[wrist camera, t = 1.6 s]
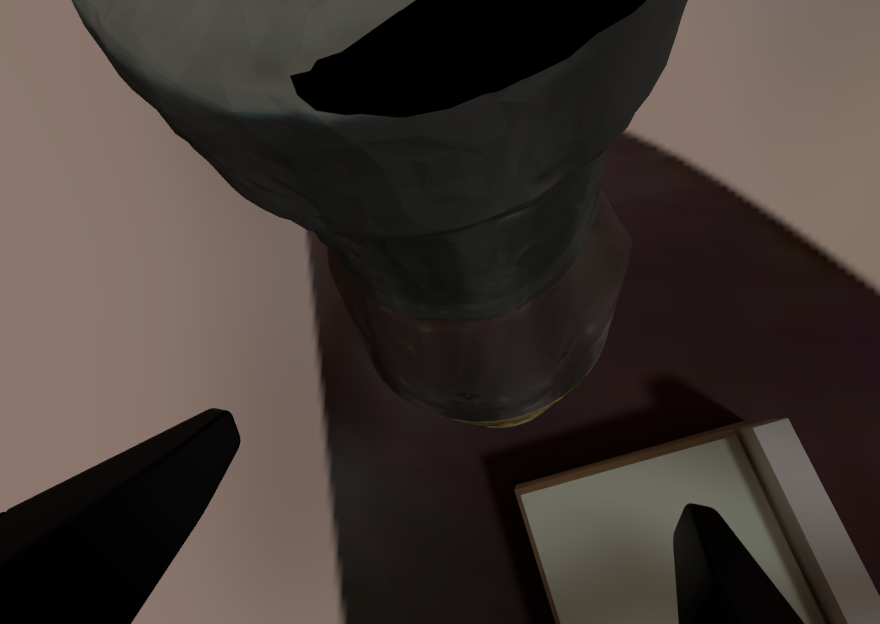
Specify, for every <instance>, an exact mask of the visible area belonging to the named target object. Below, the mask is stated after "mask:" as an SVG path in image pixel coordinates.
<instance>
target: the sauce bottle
mask: <svg viewBox="0 0 880 624" xmlns="http://www.w3.org/2000/svg"><path fill="white" fill-rule="evenodd" d="M687 1H688V0H72V2H73V4H74V6H75V8H76V10H77V12H78V14H79V16H80V18H81V20H82V22H83V24H84V26H85V27H86V29H87V30H88V31H89V33H90V34H91V36H92V37H93V38H94V40H95V41H96V42H97V44H98V45H99V46H100V48H101V49H102V51H103V52H104V53H105V55H106V56H107V58H108V59H109V61H110V62H111V64H112V65H113V67H114V68H115V70H116V71H117V73H118V74H119V76H120V77H121V78H122V79H123V80H124V81H125V82H126V83H127V84H128V85H129V86H130V88H131V89H132V90H133V91H135V92H136V93H137V94H138V95H140V96H141V97H142V98H143V99H144V100H145V101H147V102H148V103H149V104H150V105H152V106H153V107H154V108H155V109H156V110H157V111H158V112H159V113H160V115H161V116H162V117H163V118H164V120H165V121H166V122H167V123H168V125H169V126H170V127H171V129H172V130H173V131H174V133H175V134H177V135H178V136H180V137H181V138H183V139H184V140H186V141H187V142H188V143H189V144H190V145H191V146H192V147H193V148H194V149H195V150H196V151H197V152H198V153H199V154H200V155H202V156H203V157H204V158H205V159H206V160H207V161H208V162H209V163H210V164H211V165H212V166H213V167H214V168H215V169H216V170H217V171H218V173H219V174H220V175H221V176H222V177H223V178H224V179H225V180H226V181H227V182H228V183H229V184H230V185H231V187H233V188H234V189H235V190H236V191H237V192H238V193H239V194H241V195H242V196H243V197H244V198H246V199H247V200H249V201H250V202H252V203H254V204H255V205H257V206H259V207H260V208H262V209H264V210H266V211H268V212H270V213H272V214H274V215H276V216H278V217H281V218H285V219H288V220H292V221H293V222H295V223H296V224H298V225H300V226H301V227H303V228H305V229H307V230H311V231H314V232H315V233H316V235H317V236H318V238H319V240H320V241H321V242H322V243H324V244H325V245H326V246H327V247H329V248H328V252H327V255H328V262H329V268H330V272H331V275H332V277H333V279H334V281H335V283H336V285H337V288H338V290H339V292H340V294H341V296H342V298H343V301H344V303H345V305H346V307H347V309H348V312H349V314H350V316H351V318H352V320H353V322H354V325H355V327H356V329H357V331H358V333H359V335H360V338H361V340H362V342H363V344H364V346H365V348H366V350H367V353H368V355H369V357H370V359H371V361H372V363H373V366H374V368H375V369H376V371H377V372H378V374H379V375H380V377H381V379H382V380H383V381H384V382H385V383H386V384H387V385H388V386H389V387H390V388H391V389H392V390H393V391H394V392H395V393H396V394H397V395H399V396H400V397H401V398H403V399H404V400H406V401H407V402H408V403H410V404H412V405H414V406H416V407H418V408H420V409H422V410H424V411H426V412H429V413H431V414H433V415H437V416H441V417H444V418H448V419H451V420H456V421H460V422H463V423H465V424H473V425H478V426H483V427H490V428H505V427H512V426H517V425H520V424H523V423H525V422H528V421H530V420H532V419H534V418H535V417H537V416H538V415H540V414H541V413H543V412H544V411H545V410H547V409H548V408H549V407H551V406H553V405H554V404H555V403H556V402H557V401H558V400H560V399H561V398H563V397H564V396H565V395H566V394H567V393H568V392H570V391H571V390H572V389H573V388H574V387H575V386H576V385H577V384H578V383H579V382H581V381H582V380H583V378H584V377H585V376H586V375H587V374H588V373H589V371H590V370H591V368H592V367H593V365H594V364H595V362H596V361H597V359H598V358H599V356H600V353H601V351H602V348H603V346H604V343H605V341H606V337H607V334H608V331H609V327H610V324H611V320H612V317H613V314H614V310H615V307H616V303H617V300H618V297H619V293H620V290H621V287H622V283H623V280H624V276H625V273H626V270H627V266H628V263H629V259H630V255H631V251H632V240H631V238H630V236H629V234H628V233H627V231H626V229H625V228H624V226H623V225H622V223H621V222H620V220H619V218H618V217H617V215H616V214H615V212H614V210H613V209H612V207H611V205H610V204H609V202H608V200H607V199H606V197H605V195H604V194H603V192H602V191H601V189H600V175H601V170H602V166H603V164H604V161H605V158H606V154H607V151H608V149H609V146H610V145H611V144H612V143H613V142H614V141H615V140H616V139H617V138H618V137H619V135H620V134H621V133H622V132H623V131H624V130H625V129H626V128H627V127H628V125H629V124H630V122H631V120H632V118H633V116H634V114H635V112H636V111H637V110H638V108H639V107H640V106H641V105H642V103H643V102H644V101H645V100H646V98H647V97H648V96H649V94H650V93H651V91H652V89H653V87H654V86H655V84H656V82H657V80H658V78H659V77H660V75H661V73H662V72H663V70H664V68H665V66H666V64H667V61H668V58H669V55H670V52H671V49H672V46H673V43H674V40H675V37H676V34H677V31H678V27H679V24H680V20H681V17H682V14H683V12H684V8H685V6H686V3H687Z"/></svg>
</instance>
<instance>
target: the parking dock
mask: <svg viewBox="0 0 880 624" xmlns="http://www.w3.org/2000/svg"><path fill="white" fill-rule="evenodd" d="M515 494H516V497H517V500H518V503H519V507H520V510H521V513H522V516H523V520H524V523H525V526H526V529H527V533H528V536H529V539H530V542H531V545H532V549H533V552H534V555H535V558H536V562H537V565H538V568H539V571H540V575H541V578H542V581H543V584H544V588H545V591H546V594H547V597H548V600H549V604H550V607H551V610H552V613H553V617H554V620H555V623H556V624H679V621H678V607H677V594H676V580H675V566H674V552H673V535H674V531H675V528H676V526H677V523H678V521H679V519H680V516H681V514H682V512H683V509H684V507H685V506H686V505H687V504H688V503H693V504H698V505H703V506H708V507H712V508H714V509H715V510H716V511H717V512H718V513H719V514H720V515H721V516H722V518H723V519H724V520H725V522H726V523H727V524H728V525H729V527H730V528H731V529H732V531H733V532H734V533H735V534H736V536H737V537H738V538H739V540H740V541H741V542H742V543H743V545H744V546H745V547H746V549H747V550H748V551H749V552H750V554H751V555H752V556H753V558H754V559H755V560H756V561H757V563H758V564H759V565H760V567H761V568H762V569H763V570H764V572H765V573H766V574H767V576H768V577H769V578H770V579H771V581H772V582H773V583H774V585H775V586H776V587H777V588H778V590H779V591H780V592H781V594H782V595H783V596H784V597H785V599H786V600H787V601H788V603H789V604H790V605H791V606H792V608H793V609H794V610H795V612H796V613H797V614H798V615H799V617H800V618H801V619H802V621H803V622H804V623H805V624H880V596H879V594H878V593H877V591H876V589H875V587H874V585H873V583H872V581H871V579H870V577H869V575H868V573H867V571H866V569H865V567H864V565H863V563H862V561H861V559H860V558H859V556H858V554H857V552H856V550H855V548H854V546H853V544H852V542H851V540H850V538H849V536H848V534H847V532H846V530H845V528H844V526H843V524H842V522H841V521H840V519H839V517H838V515H837V513H836V511H835V509H834V507H833V505H832V503H831V501H830V499H829V497H828V495H827V493H826V491H825V489H824V487H823V486H822V484H821V482H820V480H819V478H818V476H817V474H816V472H815V470H814V468H813V466H812V464H811V462H810V460H809V458H808V456H807V454H806V452H805V451H804V449H803V447H802V445H801V443H800V441H799V439H798V437H797V435H796V433H795V431H794V429H793V427H792V425H791V423H790V421H789V419H788V418H782V419H763V420H745V421H741V422H738V423H734V424H731V425H727V426H723V427H720V428H716V429H713V430H709V431H706V432H702V433H699V434H695V435H691V436H688V437H684V438H681V439H677V440H674V441H670V442H667V443H663V444H660V445H656V446H652V447H649V448H645V449H642V450H638V451H635V452H631V453H628V454H624V455H621V456H617V457H613V458H610V459H606V460H603V461H599V462H596V463H592V464H589V465H585V466H581V467H578V468H574V469H571V470H567V471H564V472H560V473H557V474H553V475H550V476H546V477H542V478H539V479H535V480H532V481H528V482H525V483H521V484H518V485H516V486H515Z"/></svg>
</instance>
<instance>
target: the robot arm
mask: <svg viewBox="0 0 880 624" xmlns="http://www.w3.org/2000/svg"><path fill="white" fill-rule="evenodd" d="M239 445H240V435H239V432H238V429H237V427H236V424H235V421H234V418H233V416H232V414H231V413H230V412H229V411H226V410H221V409H215V408H212V409H209V410H206V411H204V412H202V413H200V414H198V415H196V416H194V417H192V418H190V419H188V420H186V421H184V422H182V423H180V424H178V425H176V426H174V427H172V428H170V429H168V430H166V431H164V432H162V433H160V434H158V435H157V436H154V437H152V438H150V439H148V440H146V441H144V442H142V443H140V444H138V445H136V446H134V447H132V448H130V449H128V450H126V451H124V452H122V453H120V454H118V455H116V456H114V457H112V458H110V459H108V460H106V461H104V462H102V463H100V464H98V465H96V466H94V467H92V468H90V469H88V470H86V471H84V472H82V473H80V474H78V475H76V476H74V477H72V478H70V479H68V480H66V481H64V482H62V483H60V484H58V485H56V486H54V487H52V488H50V489H48V490H46V491H44V492H42V493H40V494H38V495H36V496H34V497H32V498H30V499H28V500H26V501H24V502H22V503H20V504H18V505H16V506H14V507H12V508H10V509H8V510H7V511H6V512H2V513H0V624H131V623H132V621H133V620H134V618H135V617H136V615H137V614H138V612H139V611H140V609H141V608H142V606H143V604H144V603H145V601H146V600H147V599H148V597H149V595H150V594H151V592H152V591H153V589H154V588H155V586H156V585H157V583H158V582H159V580H160V579H161V577H162V576H163V574H164V573H165V571H166V570H167V568H168V566H169V565H170V563H171V562H172V560H173V559H174V558H175V556H176V554H177V553H178V552H179V550H180V548H181V547H182V545H183V544H184V542H185V541H186V539H187V538H188V536H189V535H190V533H191V532H192V530H193V529H194V527H195V526H196V524H197V523H198V521H199V519H200V518H201V516H202V515H203V513H204V511H205V509H206V508H207V506H208V504H209V502H210V500H211V499H212V497H213V495H214V493H215V491H216V489H217V488H218V485H219V484H220V482H221V480H222V478H223V476H224V475H225V473H226V471H227V469H228V467H229V465H230V463H231V461H232V460H233V458H234V456H235V454H236V452H237V450H238V448H239ZM673 552H674V566H675V580H676V594H677V607H678V621H679V624H805V623H804V622H803V621H802V619H801V618H800V617H799V615H798V614H797V613H796V612H795V610H794V609H793V608H792V606H791V605H790V604H789V603H788V601H787V600H786V599H785V597H784V596H783V595H782V594H781V592H780V591H779V590H778V588H777V587H776V586H775V585H774V583H773V582H772V581H771V579H770V578H769V577H768V576H767V574H766V573H765V572H764V570H763V569H762V568H761V567H760V565H759V564H758V563H757V561H756V560H755V559H754V558H753V556H752V555H751V554H750V552H749V551H748V550H747V549H746V547H745V546H744V545H743V543H742V542H741V541H740V540H739V538H738V537H737V536H736V534H735V533H734V532H733V531H732V529H731V528H730V527H729V525H728V524H727V523H726V522H725V520H724V519H723V518H722V516H721V515H720V514H719V513H718V512H717V511H716V510H715V509H714V508H712V507H708V506H703V505H698V504H693V503H688V504H687V505H686V506H685V507H684V509H683V512H682V514H681V516H680V519H679V521H678V523H677V526H676V528H675V531H674V535H673Z"/></svg>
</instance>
